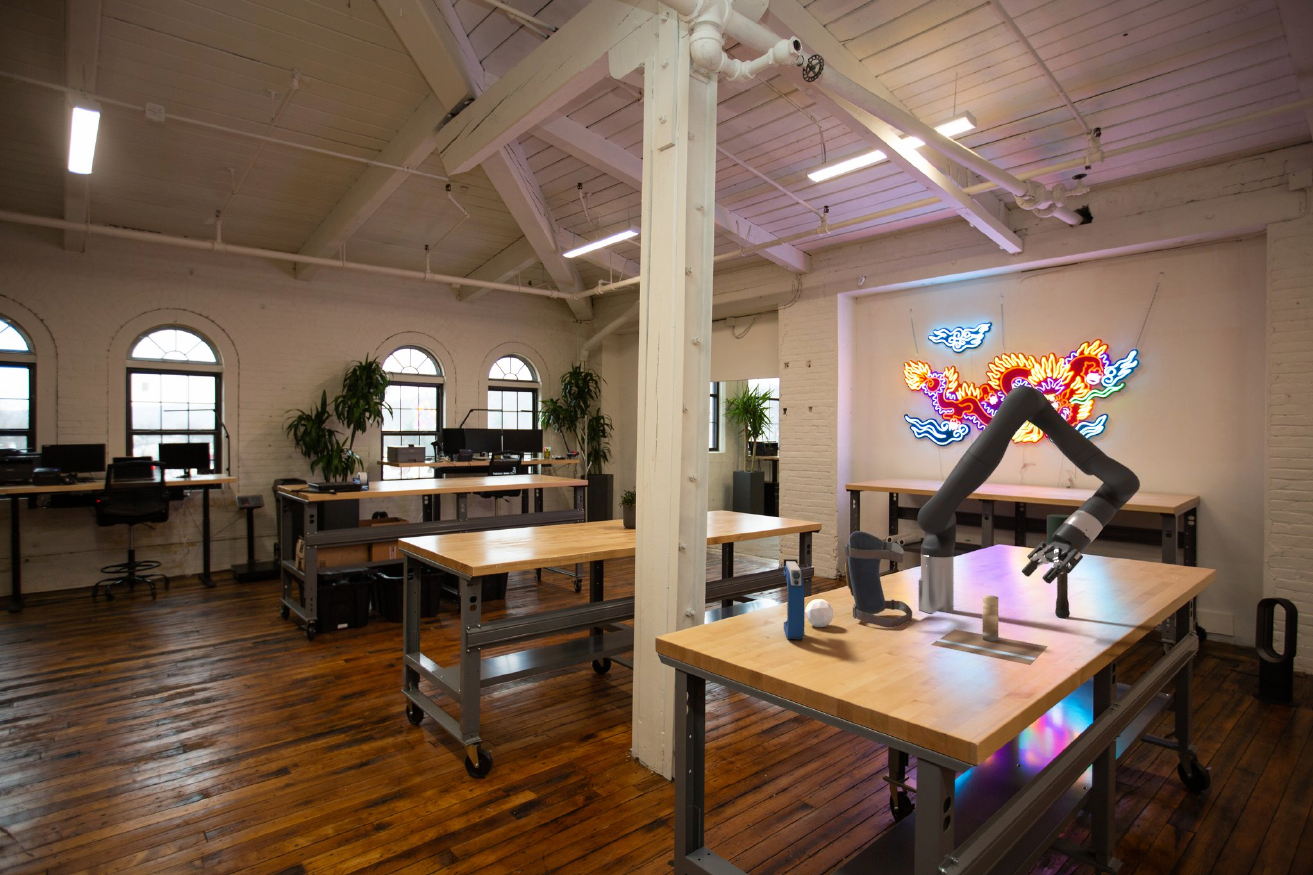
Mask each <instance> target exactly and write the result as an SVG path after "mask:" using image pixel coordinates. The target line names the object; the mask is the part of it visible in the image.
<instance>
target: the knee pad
mask: <svg viewBox="0 0 1313 875" xmlns="http://www.w3.org/2000/svg"><path fill="white" fill-rule="evenodd" d="M844 551H845V552H844V553H845V554H844V555H845V557H846V561H845V564H844V572H843V574H844V575H845V578H844V580H845V582H846V585H847V588H848V589H849V590H850V595H851V596H853V599H854V603H853V606H852V617H853V618H854V619H857V620H859V621H860V622H864V623H867V624H873V625H876V626H880V627H882V628H889V629H890V628H896V627H900V626H903V625H905V624H907V623H910V622H912V620H913V610H912V609H911V607H910V606H909V605H908V604H907V603H905V602H904V601H901V600H895V599H890V600H886V599H885V595H884V590H883V587H882V581H881V577H880V565H881V560H887V561H888V560H889V561H892V562H895V563H899V564H902V563H904V554H905V553H904V549H903V547H902V546H901V544H899V543H897V542H892V541H886V540H882V539H880V538H879V537H877V536H875V535H873V534H871V533H868V532H865V531H861V530H856V531H853V532H852V533H851V534H850V535H849V539H848V543H845V546H844ZM886 609H887V610H891V611H895V610H896V611H897V610H898V611H901V612H903V613H905V614H904V615H902V616H899V617H895V618H886V617H882V616H878V615H877V614H880V613H881V612H884V611H885V610H886Z"/></svg>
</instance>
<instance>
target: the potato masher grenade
mask: <svg viewBox="0 0 1313 875" xmlns="http://www.w3.org/2000/svg"><path fill="white" fill-rule="evenodd" d="M1071 515H1072V514H1056V513H1055V514H1047V515H1046V541H1045V543H1046V544H1047V545H1049V544H1051V543H1052V542H1053V537H1052V535H1053V534H1054V533H1055V531H1056V530H1057V529H1058V528H1059V527H1060V526H1061V525H1062V524H1063V523H1064V522H1065V521H1066V520H1067V519H1068V518H1069V517H1070V516H1071ZM1069 566H1070V563H1068V564H1067V567H1069ZM1068 574H1069V573H1068ZM1068 574H1067V573H1066V572H1064V573H1063V574H1059V575H1058V576H1057V577H1056V595H1057V596H1056V600H1055V610H1054V613H1055V616H1056V617H1057V618H1061V619H1068V618H1070V616H1071V615H1070V614H1071V613H1070V603H1069V598H1068V596H1069V593H1068V590H1069V589H1068V587H1069V584H1068V579H1069V577H1068V576H1069V575H1068Z"/></svg>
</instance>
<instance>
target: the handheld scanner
mask: <svg viewBox="0 0 1313 875" xmlns="http://www.w3.org/2000/svg"><path fill="white" fill-rule="evenodd" d="M783 576H784V577H785V580H786V584H787V585H786V586H787V588H786V589H787V603H786V604H787V605H786V610H787V612H786V614H787V616H786V618H787V619H786V621H783V631H784V635H785V638H786V639H788V640H803V639H804V636H805V582H804V574H803V571H802V570H801V569H800V567H799V564H798V559H797V558H796V559H793V558H792V559H791V558H790V559H789V558H788V559H787V558H784V559H783Z"/></svg>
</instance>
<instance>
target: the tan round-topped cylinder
mask: <svg viewBox="0 0 1313 875" xmlns="http://www.w3.org/2000/svg"><path fill="white" fill-rule="evenodd" d="M982 634H983V640H984V641H988V642H998V637H999V596H996V595H989V594H985V595H982Z"/></svg>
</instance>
